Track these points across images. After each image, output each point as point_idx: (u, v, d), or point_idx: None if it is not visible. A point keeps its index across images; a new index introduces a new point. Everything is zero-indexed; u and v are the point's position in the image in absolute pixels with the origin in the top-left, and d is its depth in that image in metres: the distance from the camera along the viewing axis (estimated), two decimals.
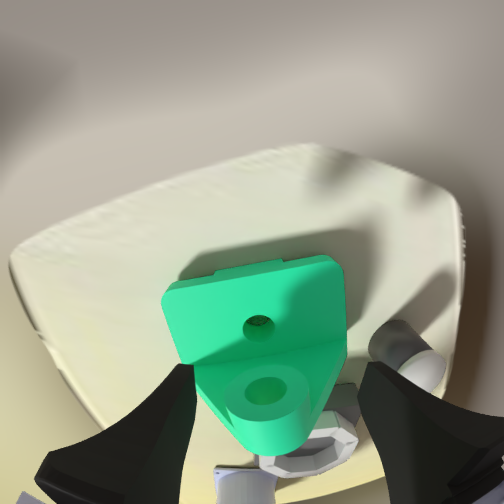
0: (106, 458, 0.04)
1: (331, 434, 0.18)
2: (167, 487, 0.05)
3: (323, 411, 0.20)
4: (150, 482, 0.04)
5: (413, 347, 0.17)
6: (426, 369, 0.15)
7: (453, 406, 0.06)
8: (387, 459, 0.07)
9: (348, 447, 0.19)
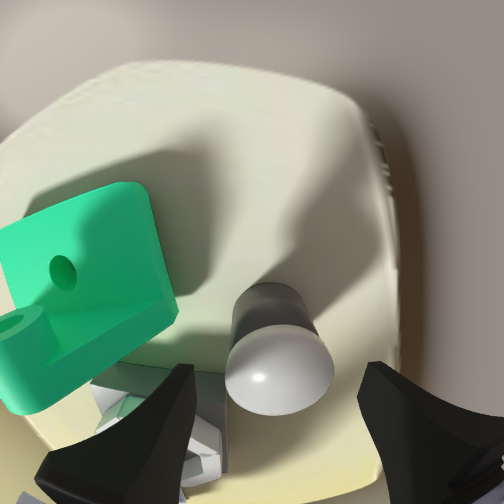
0: (106, 458, 0.04)
1: None
2: (167, 487, 0.05)
3: None
4: (150, 482, 0.04)
5: (264, 318, 0.12)
6: (282, 359, 0.10)
7: (453, 406, 0.06)
8: (387, 459, 0.07)
9: (208, 460, 0.13)
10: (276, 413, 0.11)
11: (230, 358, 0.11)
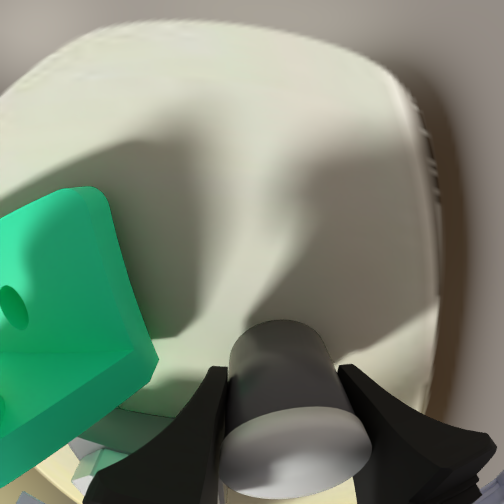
0: (162, 472, 0.04)
1: None
2: (213, 493, 0.05)
3: None
4: (207, 490, 0.04)
5: (276, 390, 0.07)
6: (302, 453, 0.06)
7: (423, 416, 0.06)
8: None
9: None
10: (288, 497, 0.07)
11: (225, 451, 0.06)
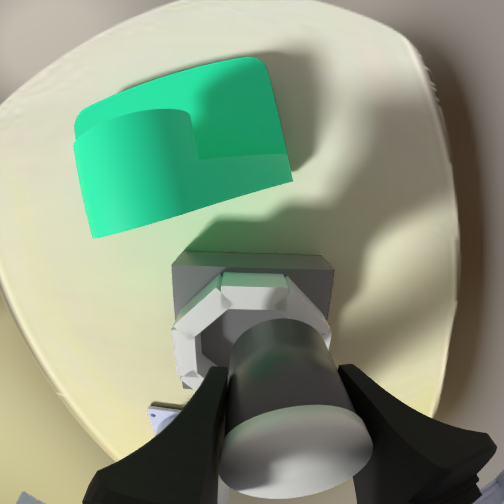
0: (162, 472, 0.04)
1: (280, 306, 0.13)
2: (213, 493, 0.05)
3: (268, 273, 0.15)
4: (207, 490, 0.04)
5: (278, 388, 0.07)
6: (303, 452, 0.06)
7: (423, 416, 0.06)
8: None
9: None
10: (287, 496, 0.07)
11: (226, 449, 0.06)
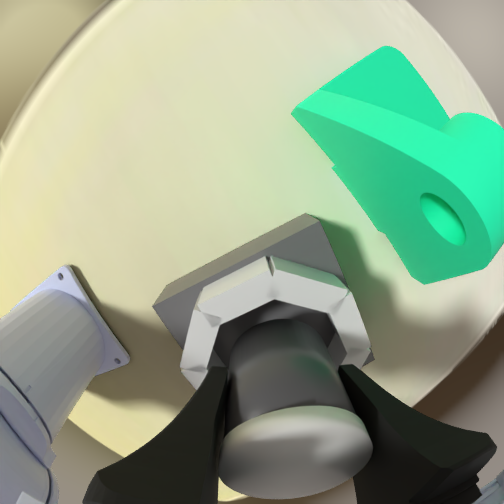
0: (162, 472, 0.04)
1: (351, 352, 0.12)
2: (213, 493, 0.05)
3: None
4: (207, 490, 0.04)
5: (278, 389, 0.07)
6: (303, 453, 0.06)
7: (423, 416, 0.06)
8: None
9: None
10: (287, 497, 0.07)
11: (225, 450, 0.06)
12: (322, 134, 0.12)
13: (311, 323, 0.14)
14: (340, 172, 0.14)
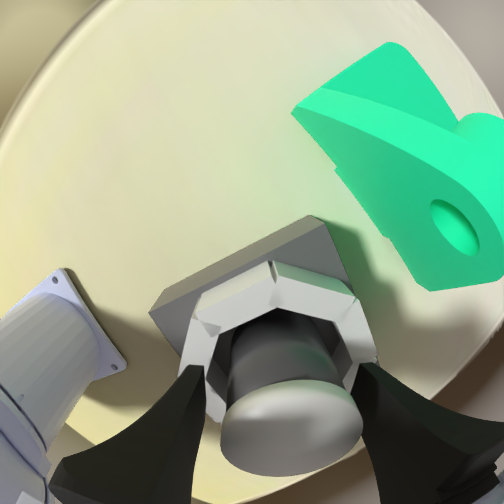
0: (122, 463, 0.04)
1: (357, 361, 0.11)
2: (181, 489, 0.05)
3: None
4: (167, 485, 0.04)
5: (274, 366, 0.08)
6: (298, 425, 0.07)
7: (444, 409, 0.06)
8: (378, 461, 0.07)
9: None
10: (284, 474, 0.08)
11: (227, 422, 0.07)
12: (324, 134, 0.11)
13: None
14: (343, 174, 0.13)
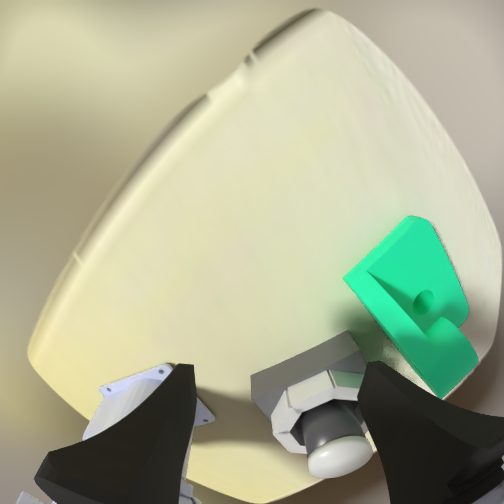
0: (106, 458, 0.04)
1: None
2: (167, 487, 0.05)
3: None
4: (150, 482, 0.04)
5: (334, 429, 0.15)
6: (345, 454, 0.14)
7: (453, 406, 0.06)
8: (387, 459, 0.07)
9: None
10: (334, 476, 0.15)
11: (315, 457, 0.14)
12: (364, 303, 0.18)
13: None
14: (369, 312, 0.20)
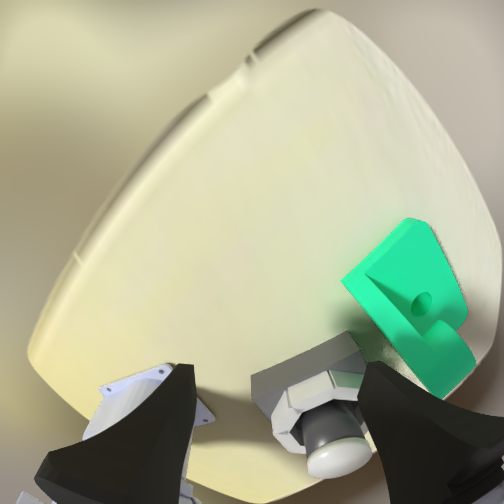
0: (106, 458, 0.04)
1: None
2: (167, 487, 0.05)
3: None
4: (150, 482, 0.04)
5: (333, 431, 0.15)
6: (344, 456, 0.14)
7: (453, 406, 0.06)
8: (387, 459, 0.07)
9: None
10: (333, 476, 0.15)
11: (313, 458, 0.14)
12: (362, 306, 0.18)
13: None
14: None
